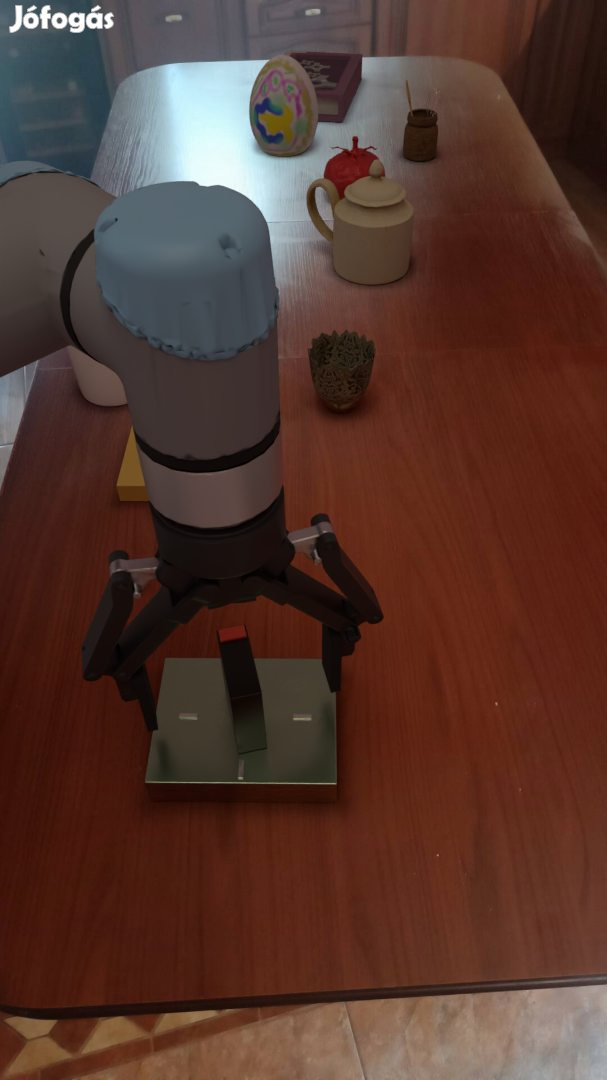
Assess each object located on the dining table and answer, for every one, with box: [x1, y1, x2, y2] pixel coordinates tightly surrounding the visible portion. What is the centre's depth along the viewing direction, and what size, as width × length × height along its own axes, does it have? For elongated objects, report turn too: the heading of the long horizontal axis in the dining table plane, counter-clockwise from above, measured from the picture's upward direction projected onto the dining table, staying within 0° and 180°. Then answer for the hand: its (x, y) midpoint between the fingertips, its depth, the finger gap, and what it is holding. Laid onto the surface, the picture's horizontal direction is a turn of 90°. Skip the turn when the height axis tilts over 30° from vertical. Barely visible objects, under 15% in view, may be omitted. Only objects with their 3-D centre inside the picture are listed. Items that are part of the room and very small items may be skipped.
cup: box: [307, 329, 377, 414], centre depth 90 cm, size 8×7×8 cm
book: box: [283, 49, 363, 123], centre depth 162 cm, size 25×16×5 cm, turn 169°
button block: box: [115, 424, 149, 502], centre depth 85 cm, size 12×10×4 cm
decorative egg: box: [248, 54, 319, 157], centre depth 141 cm, size 12×12×15 cm
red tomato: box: [323, 135, 386, 200], centre depth 128 cm, size 10×10×9 cm
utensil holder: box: [402, 79, 443, 162], centre depth 138 cm, size 6×6×12 cm
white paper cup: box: [65, 345, 128, 407], centre depth 92 cm, size 10×10×12 cm
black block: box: [215, 624, 267, 754], centre depth 59 cm, size 6×2×8 cm, turn 13°
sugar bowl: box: [305, 159, 415, 286], centre depth 110 cm, size 15×11×15 cm
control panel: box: [144, 657, 338, 804], centre depth 63 cm, size 14×11×3 cm
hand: (242, 696), depth 60 cm, fingers open, 13 cm apart
